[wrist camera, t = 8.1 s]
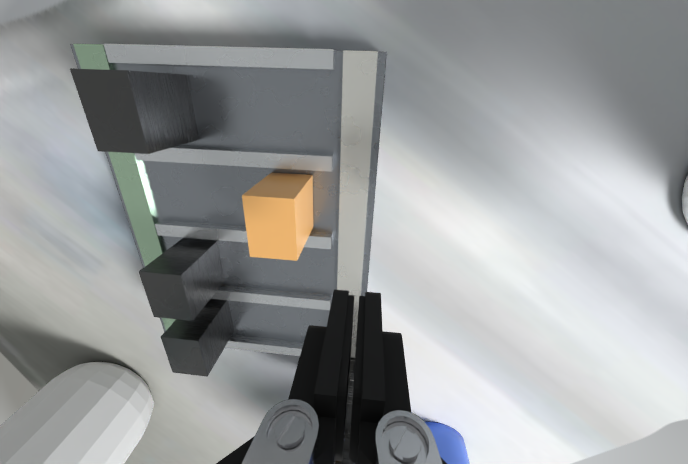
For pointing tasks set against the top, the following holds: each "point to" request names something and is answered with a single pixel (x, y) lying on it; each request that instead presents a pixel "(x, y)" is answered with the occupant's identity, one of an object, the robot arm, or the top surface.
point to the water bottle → (449, 443)
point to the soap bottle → (80, 418)
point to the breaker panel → (237, 182)
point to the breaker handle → (279, 215)
